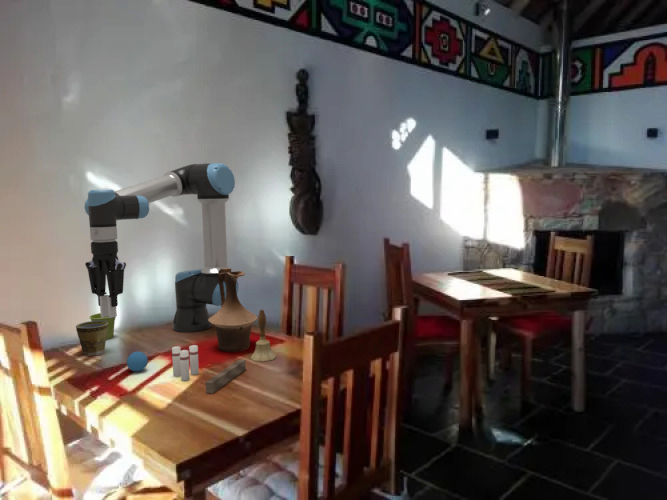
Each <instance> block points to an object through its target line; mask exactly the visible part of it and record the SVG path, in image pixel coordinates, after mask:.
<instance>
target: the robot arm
mask: <svg viewBox="0 0 667 500" xmlns="http://www.w3.org/2000/svg"><path fill="white" fill-rule="evenodd" d="M235 185H236V181H235V175H234V174H233V171H232V170H231V169H230V168H229V166H228V165H227V164H225V163H220V162H219V163H218V162H217V163H216V162H210V163H193V164H192V163H191V164H188V165H185V166H184V165H183V166H182V167H179V168H176V169H173V170H171V171H167V172H165V173H164V175H163V176H161V177H157V178H154V179H150V180H148V181H144V182H140V183H137V184H134V185H131V186H128V187H125V188H122V189H119V190H113V189H90V190H89V191H88V192H87V199H86V200H85V202H84V211H85V214H87V216H88V220H89V233H90V235H89V236H90V237H89V238H90V240H91V242H90V251H91V254H92V259H91V260H90V261H87V262H85V267H86V269H87V272H88V273H87V274H88V280H89V284H90V290H91V293H92V294H95V295H96V296H97V304H98V306H99V308H100V313H101V317H106V316H109V318H112V317H115V316H116V317H117V315H118V314H117V307H118V303H119V302H118V296H119V295H121V294H123V293H124V283H125V282H124V279H125V278H124V277H125V269H126V266H127V263H126V262H122V261H120V260H119V256H118V252H119V244H118V241H117V239H118V227H117V226H118V225H117V221H123V220H139V219H140V220H141V219H144V218H146V217H147V216H148V215H149V213H150V204H151V203H154V202H156V201H160V200H163V199H165V198H168V197H174V198H175V197H180V196H182V195H196V196H197V201H199V203H201V211H202V212H201V213H202V214H201V215H202V216H201V218H202V237H203V238H202V239H203V260H204V261H203V263H204V266H203V268H199V269H190V270H183V271H179V272H177V273H176V274H175V276H174V277H175V279H174V281H175V282H174V288H175V290H174V291H175V303H176V308H175V309H176V310H175V314H174V318H173V321H172V329H173V330H174V331H176V332H183V333H191V332H192V333H193V332H199V331H205V330H207V329H210V328H211V327H212V326H213V324H212V323H210V322H209V321H208V319H209V318H210V317H211V315H210V313H209V309H208V308H207V307H208V306H207V305H210V306H211V305H212V306H215V307H216V306H217V307H221V303H222V302H221V294H220V288H219V283H218V272H219V270H220V269H222V268H230V267H229V266H228V253H227V248H228V247H227V246H228V245H227V227H226V226H227V225H226V224H227V223H226V222H227V221H226V203H227V202H228V201H229V200H230V194H232V192H234V188H235ZM231 272H233V271H232V270H231ZM106 281H107V282H106ZM106 283H107V284H106ZM106 285H107V287H108V292H106ZM223 285H224V293H225V299H226V285H225V282H224V281H223ZM236 292H237V294H238V293H239V281H238V280H237V281H236ZM108 293H109V295H108Z"/></svg>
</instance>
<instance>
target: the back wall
mask: <svg viewBox="0 0 667 500" xmlns="http://www.w3.org/2000/svg"><path fill="white" fill-rule="evenodd" d="M246 367H247V366H246V359H240V358H239V359H238V360H237V361H235V362H233V363H232V364H230V365H229V366H228V367H226V368H224V369H223V370H221V371H220V372H218V373H217V374H215V375H214V376H212V377H211V378H210V379H207V380H206V381H205V394H214V393H215V392H217V391H218V390H220V388H222V387H223V386H225V385H226V384H227V383H229V382H230V381H232V380H233V379H235V378H236V377H238V375H241V373H243V372H244V371H246V369H247V368H246Z"/></svg>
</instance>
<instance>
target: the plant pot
mask: <svg viewBox="0 0 667 500" xmlns="http://www.w3.org/2000/svg"><path fill="white" fill-rule="evenodd" d="M116 317H117V316H115V317H112V318H109V316H106V317H101V312H99V313H94V314H91V315H90V316H89V319H90V320H91V321H106V322H108V329H107V335H106V340H111V339H112V338H113V337H114V335H115V323H116V322H115V321H116Z"/></svg>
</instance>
